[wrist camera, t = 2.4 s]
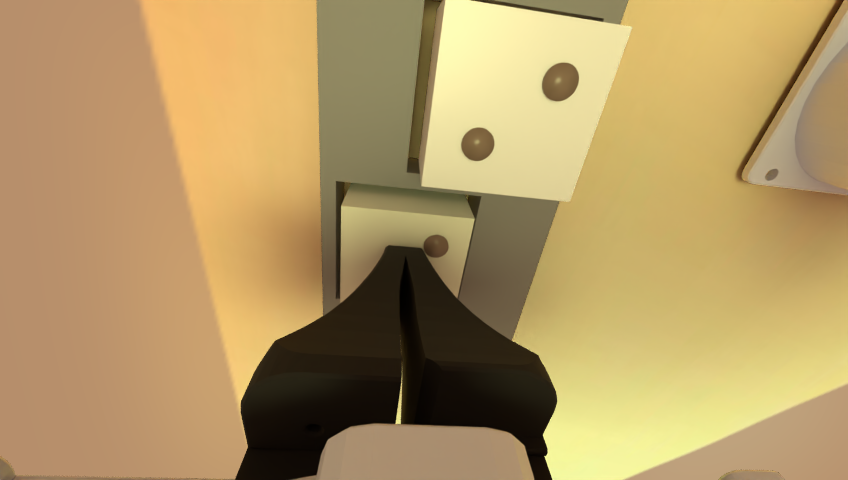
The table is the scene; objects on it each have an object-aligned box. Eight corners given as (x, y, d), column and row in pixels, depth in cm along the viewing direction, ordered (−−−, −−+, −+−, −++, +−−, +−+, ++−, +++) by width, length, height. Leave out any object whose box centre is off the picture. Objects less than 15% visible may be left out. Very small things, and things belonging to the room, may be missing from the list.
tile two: (580, 32, 11) (635, 26, 8) (538, 173, 13) (571, 203, 10) (436, 9, 10) (446, -5, 8) (418, 159, 12) (421, 187, 10)
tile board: (704, -349, 8) (785, -459, 6) (501, 312, 18) (511, 340, 17) (328, -459, 7) (303, -618, 6) (331, 300, 17) (323, 328, 16)
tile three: (463, 190, 14) (475, 220, 12) (445, 279, 16) (452, 320, 14) (352, 178, 14) (340, 207, 11) (350, 271, 16) (339, 313, 13)
